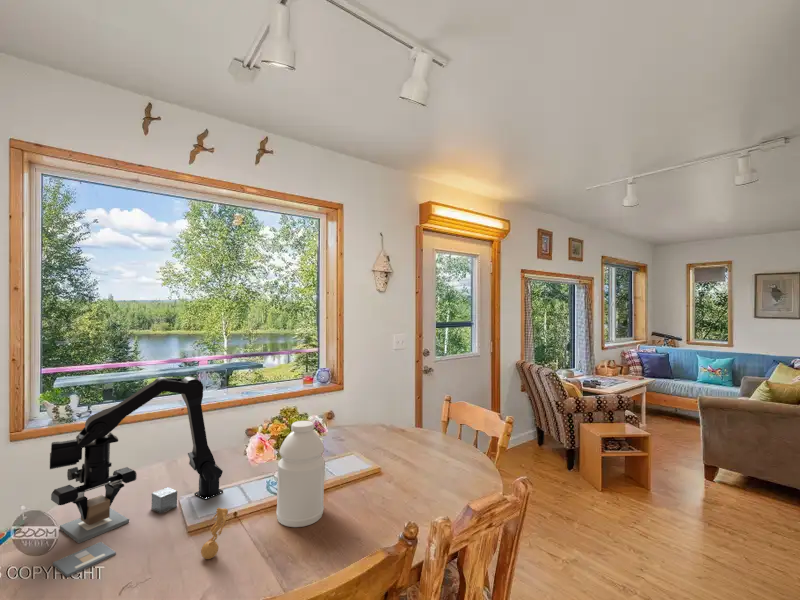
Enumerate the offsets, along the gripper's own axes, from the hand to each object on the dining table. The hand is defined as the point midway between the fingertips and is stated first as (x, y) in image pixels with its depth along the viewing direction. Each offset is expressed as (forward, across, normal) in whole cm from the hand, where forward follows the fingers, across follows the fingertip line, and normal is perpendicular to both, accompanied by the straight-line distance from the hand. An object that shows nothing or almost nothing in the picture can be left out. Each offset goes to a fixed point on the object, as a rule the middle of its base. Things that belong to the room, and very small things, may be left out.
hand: (95, 514), depth 113 cm
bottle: (+3, -36, +44) cm, 57 cm away
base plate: (+3, 0, 0) cm, 3 cm away
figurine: (+3, -10, +40) cm, 41 cm away
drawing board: (+3, +8, +15) cm, 17 cm away
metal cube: (+3, -16, +6) cm, 17 cm away
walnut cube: (+1, 0, 0) cm, 1 cm away
